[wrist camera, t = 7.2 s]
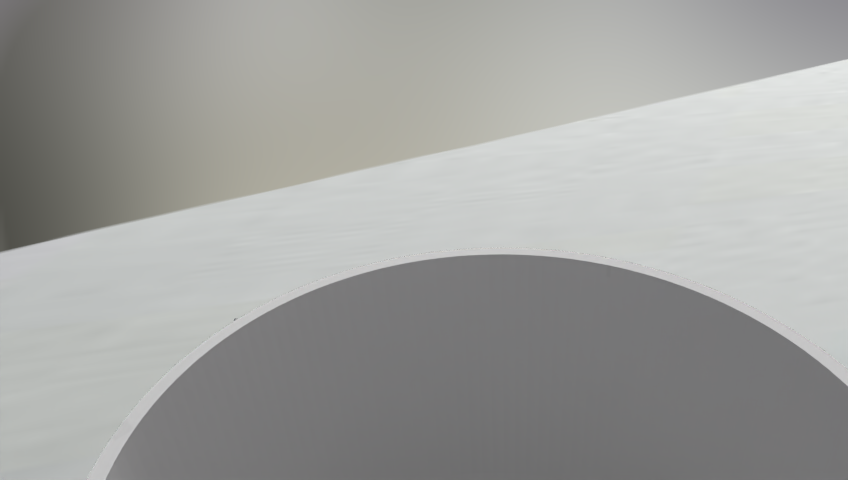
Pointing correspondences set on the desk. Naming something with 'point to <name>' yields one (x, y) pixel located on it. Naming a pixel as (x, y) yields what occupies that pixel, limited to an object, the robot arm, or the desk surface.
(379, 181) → the desk surface
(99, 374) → the desk surface
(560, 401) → the cup
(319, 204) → the desk surface
